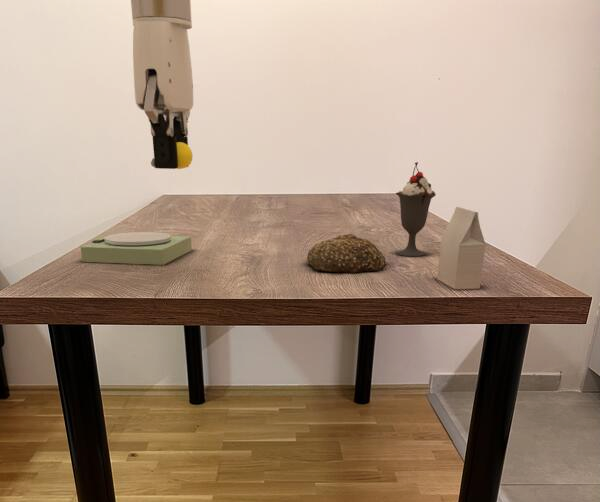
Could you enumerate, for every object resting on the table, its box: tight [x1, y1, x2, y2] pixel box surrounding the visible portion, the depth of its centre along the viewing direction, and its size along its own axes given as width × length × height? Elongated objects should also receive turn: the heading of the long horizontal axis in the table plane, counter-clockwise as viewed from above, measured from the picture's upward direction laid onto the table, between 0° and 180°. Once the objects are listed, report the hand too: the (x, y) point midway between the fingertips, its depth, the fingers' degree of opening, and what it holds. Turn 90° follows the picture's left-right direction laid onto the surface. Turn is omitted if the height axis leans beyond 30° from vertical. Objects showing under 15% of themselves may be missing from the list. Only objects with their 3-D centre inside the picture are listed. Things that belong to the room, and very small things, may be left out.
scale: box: [80, 231, 193, 266], centre depth 109 cm, size 14×14×3 cm
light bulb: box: [150, 142, 193, 170], centre depth 89 cm, size 3×6×4 cm, turn 88°
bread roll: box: [306, 233, 387, 274], centre depth 101 cm, size 13×12×5 cm
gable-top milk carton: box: [436, 206, 486, 290], centre depth 88 cm, size 4×7×10 cm, turn 9°
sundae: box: [395, 161, 437, 257], centre depth 109 cm, size 7×7×15 cm
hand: (172, 166), depth 90 cm, fingers closed on light bulb, 3 cm apart
